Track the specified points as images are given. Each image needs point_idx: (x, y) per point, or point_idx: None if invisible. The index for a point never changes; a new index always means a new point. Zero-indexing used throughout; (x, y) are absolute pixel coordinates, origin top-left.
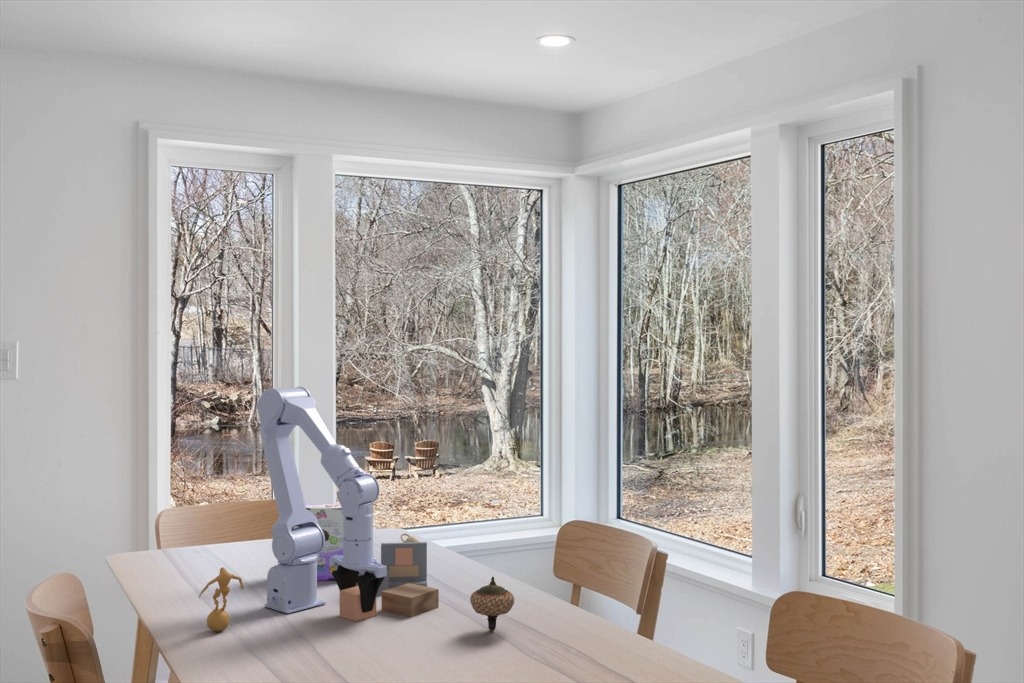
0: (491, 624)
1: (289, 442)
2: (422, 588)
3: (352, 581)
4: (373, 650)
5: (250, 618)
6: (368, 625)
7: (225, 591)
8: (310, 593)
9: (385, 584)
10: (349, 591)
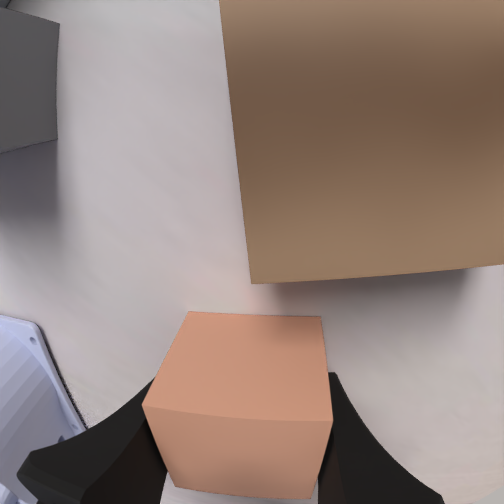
0: None
1: None
2: (446, 4)
3: (138, 465)
4: (489, 457)
5: None
6: (383, 402)
7: None
8: (30, 405)
9: (22, 35)
10: (225, 485)
